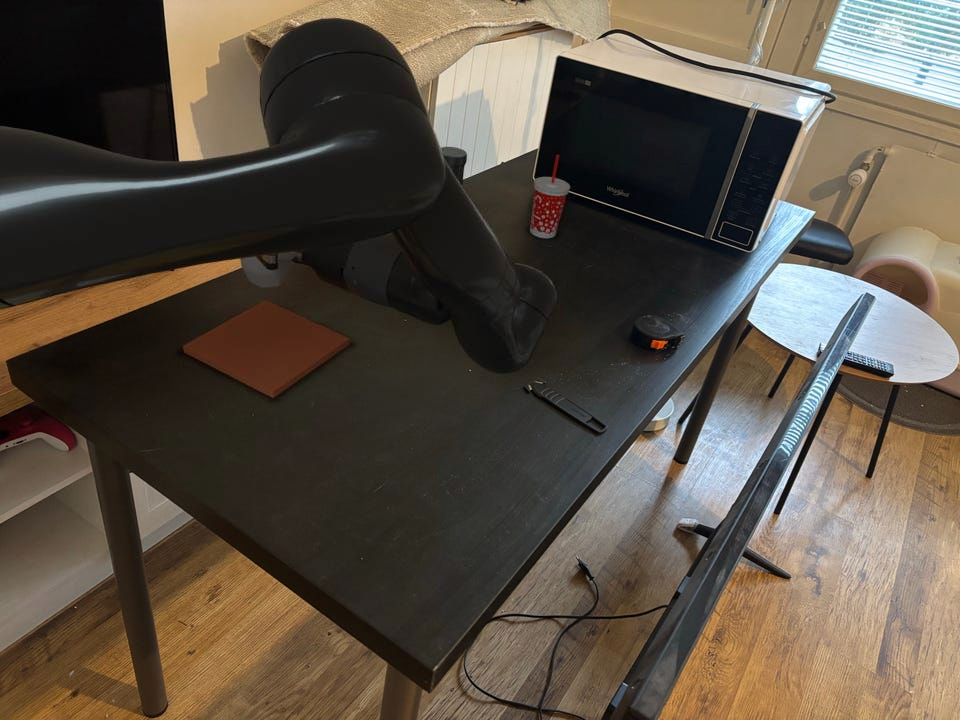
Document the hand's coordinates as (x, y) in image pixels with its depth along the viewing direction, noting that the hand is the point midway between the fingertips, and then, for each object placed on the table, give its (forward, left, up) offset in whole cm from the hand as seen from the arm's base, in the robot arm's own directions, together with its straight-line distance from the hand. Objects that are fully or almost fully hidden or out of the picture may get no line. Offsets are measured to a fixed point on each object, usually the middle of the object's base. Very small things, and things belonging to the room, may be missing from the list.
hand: (245, 211), depth 82 cm
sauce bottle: (+27, +14, -18) cm, 35 cm away
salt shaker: (+2, -2, -8) cm, 8 cm away
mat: (+2, -2, -18) cm, 18 cm away
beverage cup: (+49, +30, -18) cm, 60 cm away
